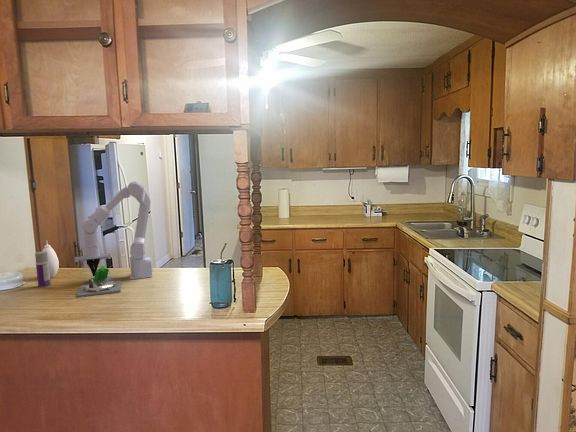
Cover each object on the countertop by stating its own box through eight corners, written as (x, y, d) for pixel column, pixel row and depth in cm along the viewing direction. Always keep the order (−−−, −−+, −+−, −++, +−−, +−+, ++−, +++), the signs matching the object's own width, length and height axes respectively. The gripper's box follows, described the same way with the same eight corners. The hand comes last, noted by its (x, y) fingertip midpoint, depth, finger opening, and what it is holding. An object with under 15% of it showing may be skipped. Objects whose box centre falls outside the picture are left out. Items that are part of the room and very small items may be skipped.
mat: (111, 276, 192) (111, 275, 192) (110, 283, 180) (110, 283, 180) (95, 278, 190) (95, 277, 189) (93, 285, 178) (92, 285, 178)
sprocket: (102, 281, 180) (102, 271, 179) (122, 284, 174) (121, 274, 173) (76, 289, 169) (75, 278, 168) (96, 293, 163) (95, 282, 162)
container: (35, 287, 176) (32, 253, 174) (45, 284, 181) (42, 251, 179) (43, 288, 175) (39, 254, 173) (53, 285, 179) (50, 251, 177)
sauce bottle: (43, 276, 194) (39, 238, 192) (61, 274, 196) (58, 237, 194) (38, 280, 187) (34, 241, 184) (57, 278, 189) (54, 240, 187)
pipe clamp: (102, 283, 180) (104, 273, 180) (93, 281, 179) (95, 271, 179) (108, 276, 191) (110, 266, 191) (100, 274, 190) (102, 265, 190)
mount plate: (120, 282, 181) (120, 280, 181) (120, 292, 167) (120, 290, 167) (80, 287, 175) (80, 285, 175) (77, 297, 162) (76, 295, 161)
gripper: (110, 242, 188) (112, 271, 190) (74, 246, 183) (77, 275, 184) (109, 245, 181) (111, 275, 183) (73, 249, 176) (75, 279, 178)
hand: (94, 275), depth 183 cm, fingers closed
